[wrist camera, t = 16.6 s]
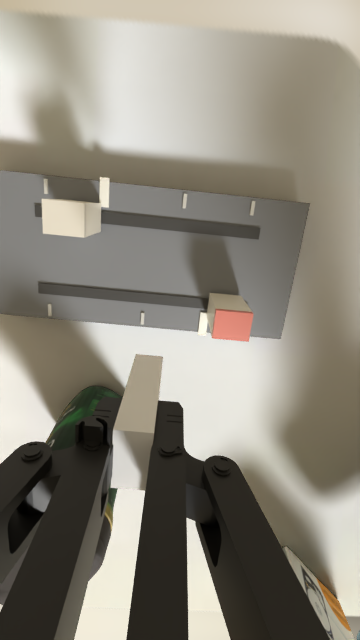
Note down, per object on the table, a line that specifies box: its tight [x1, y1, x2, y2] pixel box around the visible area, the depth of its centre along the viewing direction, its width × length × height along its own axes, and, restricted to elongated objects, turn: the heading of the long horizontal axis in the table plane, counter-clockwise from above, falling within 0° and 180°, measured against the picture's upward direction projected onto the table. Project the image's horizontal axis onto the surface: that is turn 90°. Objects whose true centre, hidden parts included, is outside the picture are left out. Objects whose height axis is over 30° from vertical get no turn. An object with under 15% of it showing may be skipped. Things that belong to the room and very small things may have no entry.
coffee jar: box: [0, 386, 123, 605], centre depth 31 cm, size 10×8×19 cm
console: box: [0, 170, 310, 339], centre depth 32 cm, size 28×14×3 cm, turn 84°
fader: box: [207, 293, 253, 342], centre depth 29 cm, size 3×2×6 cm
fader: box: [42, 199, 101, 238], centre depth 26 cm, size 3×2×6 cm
